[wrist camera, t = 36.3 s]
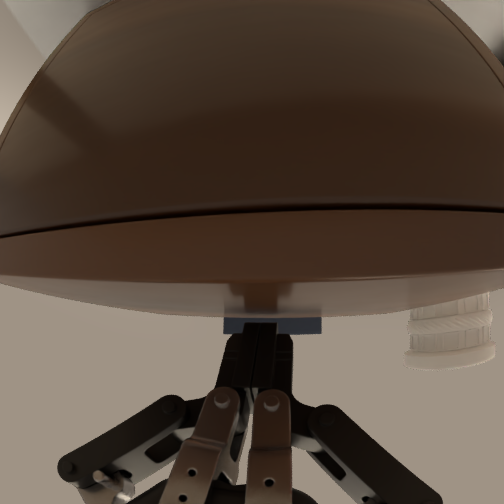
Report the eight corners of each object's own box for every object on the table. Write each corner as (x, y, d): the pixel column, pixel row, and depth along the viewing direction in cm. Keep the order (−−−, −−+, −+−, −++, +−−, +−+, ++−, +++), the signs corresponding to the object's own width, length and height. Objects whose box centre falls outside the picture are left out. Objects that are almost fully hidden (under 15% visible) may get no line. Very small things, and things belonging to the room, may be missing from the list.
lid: (386, 300, 16) (387, 313, 16) (164, 302, 18) (163, 314, 18) (577, 218, 2) (585, 259, 2) (-38, 244, 4) (-42, 271, 4)
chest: (366, 136, 18) (390, 299, 15) (177, 149, 20) (158, 301, 17) (398, -32, 5) (576, 215, 2) (86, 14, 8) (-37, 242, 4)
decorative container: (406, 171, 22) (425, 376, 17) (493, 177, 20) (518, 352, 15) (379, 217, 33) (387, 361, 28) (452, 217, 31) (464, 349, 26)
